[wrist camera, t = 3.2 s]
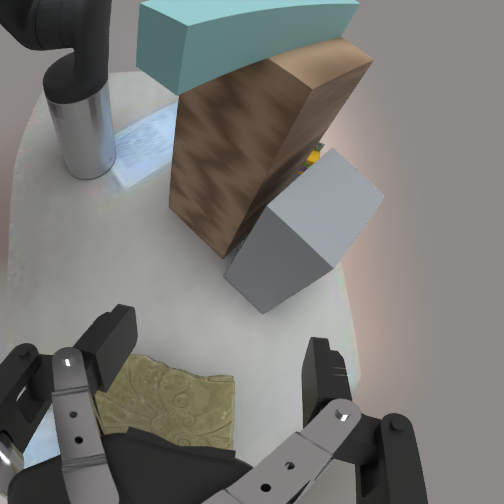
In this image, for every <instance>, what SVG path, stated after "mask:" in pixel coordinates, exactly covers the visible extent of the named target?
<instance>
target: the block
mask: <svg viewBox="0 0 504 504" xmlns="http://www.w3.org/2000/svg"><path fill="white" fill-rule="evenodd" d="M359 5H360V3H358V2H357V1H355V0H150V1H146V2H143V3H140V8H139V20H138V35H137V55H136V56H137V57H136V66H137V67H138V68H139V69H141V70H142V71H144V72H145V73H147V74H148V75H149V76H151V77H152V78H153V79H155V80H156V81H158V82H159V83H160V84H162V85H163V86H164V87H166V88H167V89H169V90H170V91H171V92H173V93H174V94H175V95H177V96H178V95H180V94H182V93H184V92H186V91H188V90H190V89H192V88H195V87H197V86H199V85H201V84H203V83H206V82H208V81H210V80H212V79H215V78H217V77H219V76H222V75H224V74H227V73H229V72H232V71H234V70H237V69H239V68H242V67H244V66H247V65H250V64H252V63H255V62H258V61H261V60H263V59H266V58H269V57H272V56H275V55H278V54H281V53H284V52H287V51H291V50H294V49H297V48H301V47H304V46H308V45H311V44H315V43H319V42H322V41H326V40H330V39H334V38H339V37H341V36H342V34H343V33H344V31H345V29H346V27H347V26H348V24H349V22H350V20H351V19H352V17H353V15H354V13H355V12H356V10H357V8H358V7H359Z"/></svg>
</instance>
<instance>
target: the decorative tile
mask: <svg viewBox="0 0 504 504" xmlns="http://www.w3.org/2000/svg"><path fill="white" fill-rule="evenodd" d="M234 394H235V383H234V378H233V376H225V375H217V376H209V377H203V376H198V375H193V374H192V373H188V372H186V371H184V370H181V369H176V368H170V367H168V366H167V365H166V364H164V363H163V362H157V361H156V360H153V359H152V358H149V357H148V356H145V355H141V356H136V355H129V357H128V358H127V360H126V361H125V363H124V365H123V366H122V368H121V370H120V371H119V373H118V375H117V376H116V378H115V380H114V381H113V383H112V385H111V386H110V388H109V390H108V391H107V393H104V392H101V391H97V392H96V394H95V397H96V401H97V404H98V408H99V412H100V416H101V419H102V423H103V426H104V429H105V432H106V434H111V433H126V432H127V430H128V428H129V426H130V427H134V428H137V429H140V430H143V431H147V432H150V433H154V434H156V435H158V436H160V437H162V438H164V439H165V440H167V441H169V442H172V443H174V444H176V445H178V446H210V447H216V448H222V449H228V450H233V429H234Z"/></svg>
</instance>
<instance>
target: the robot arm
mask: <svg viewBox="0 0 504 504" xmlns="http://www.w3.org/2000/svg"><path fill="white" fill-rule="evenodd" d="M111 2H112V0H0V24H1V25H2V26H3V27H4V28H5V29H6V30H7V31H8V32H9V33H10V34H11V35H12V36H13V37H14V38H15V39H16V40H17V41H18V42H19V43H20V44H21V45H23V46H24V47H26V48H28V49H31V50H37V51H39V50H40V51H43V50H53V49H62V48H73V49H74V52H72V53H70V54H68V55H66V56H64V57H62V58H60V59H59V60H57V61H56V62H55V63H54V64H52V65H51V66H50V67H49V68H48V70H47V71H46V73H45V75H44V78H43V87H44V92H45V96H46V99H47V103H48V107H49V111H50V114H51V117H52V121H53V124H54V127H55V131H56V134H57V137H58V140H59V143H60V146H61V149H62V152H63V156H64V159H65V161H66V164H67V167H68V169H69V172H70V173H71V174H72V175H73V176H74V177H76V178H79V179H93V178H96V177H99V176H101V175H103V174H104V173H106V172H107V171H108V170H109V169H110V168H111V167H112V165H113V163H114V162H115V158H116V150H115V142H114V134H113V125H112V116H111V106H110V94H109V82H108V57H109V26H110V15H111ZM137 337H138V333H137V324H136V315H135V309H134V307H131V306H126V305H122V304H118V305H117V306H116V307H115V308H114V309H113V310H112V311H111V313H110V312H106V313H104V314H102V315H101V316H99V317H98V318H97V319H96V320H95V321H94V322H93V325H91V326H90V327H89V328H88V330H87V331H86V332H85V333H84V334H83V335H82V336H81V338H80V339H79V340H78V341H77V342H76V344H75V345H74V346H73V347H66V348H62V349H60V350H58V351H57V352H56V353H55V354H54V355H43V354H39V353H38V350H37V348H36V347H35V346H34V345H32V344H29V343H24V344H20V345H18V346H16V347H15V348H14V349H13V350H12V351H11V352H10V354H9V355H8V356H7V357H6V358H5V360H4V361H3V362H2V363H1V364H0V495H2V496H3V497H5V498H6V499H7V500H8V504H295V503H296V502H297V501H298V500H299V499H300V498H301V497H302V496H303V494H304V493H305V492H306V491H307V490H308V489H309V487H310V486H311V485H312V484H313V483H314V482H315V481H316V480H317V479H318V478H319V476H320V475H321V474H322V473H323V472H324V471H325V470H326V469H327V467H328V466H329V465H330V464H331V463H332V462H333V460H334V459H338V460H341V461H345V462H348V463H352V464H355V474H356V503H357V504H428V500H427V494H426V488H425V482H424V477H423V471H422V466H421V461H420V457H419V452H418V447H417V443H416V439H415V434H414V430H413V427H412V424H411V422H410V421H409V420H408V418H406V417H405V416H403V415H401V414H397V413H392V414H388V415H386V416H384V417H383V419H382V420H381V419H377V418H373V417H369V416H366V415H364V414H362V413H361V411H360V409H359V407H358V406H357V405H356V404H355V403H353V402H352V397H351V392H350V387H349V382H348V377H347V372H346V369H345V368H346V367H345V362H344V358H343V357H342V356H341V355H340V353H339V352H338V351H333V350H330V347H329V341H328V339H326V338H317V337H311V338H310V341H309V344H308V348H307V351H306V355H305V358H304V362H303V366H302V403H303V430H302V431H301V432H299V433H298V432H295V433H293V434H292V435H291V436H290V437H289V438H287V439H286V440H285V441H284V442H283V443H282V444H281V445H280V446H279V447H277V448H276V449H275V450H274V451H273V452H272V453H271V454H270V455H268V456H267V457H266V458H265V459H264V460H262V461H261V462H260V463H259V464H258V465H256V466H255V467H254V468H253V467H252V466H251V465H249V464H248V463H246V462H244V461H242V460H240V459H237V458H235V453H236V451H234V450H228V449H222V448H216V447H210V446H178V445H176V444H174V443H172V442H169V441H167V440H165V439H164V438H162V437H160V436H158V435H156V434H154V433H150V432H147V431H143V430H140V429H137V428H134V427H130V426H129V428H128V430H127V432H126V433H111V434H106V432H105V429H104V426H103V423H102V419H101V416H100V412H99V408H98V404H97V401H96V397H95V394H96V392H97V391H101V392H104V393H107V391H108V390H109V388H110V386H111V385H112V383H113V381H114V380H115V378H116V376H117V375H118V373H119V371H120V370H121V368H122V366H123V365H124V363H125V361H126V360H127V358H128V357H129V355H130V353H131V352H132V350H133V348H134V347H135V345H136V342H137ZM24 386H25V388H26V389H25V391H24V392H23V393H22V395H21V396H20V398H19V399H18V401H17V397H18V395H19V393H20V392H21V391H22V389H23V388H24ZM16 401H17V402H16ZM52 403H53V411H54V419H55V425H56V432H57V437H58V443H59V448H60V453H61V454H60V455H58V456H56V457H53V458H51V459H48V460H46V461H44V462H41V463H39V464H36V465H34V466H31V467H28V468H26V469H24V468H23V466H24V458H23V455H22V454H23V453H24V451H25V449H26V447H27V445H28V443H29V442H30V440H31V438H32V436H33V434H34V433H35V431H36V429H37V427H38V426H39V424H40V422H41V421H42V419H43V417H44V415H45V414H46V412H47V410H48V409H49V407H50V405H51V404H52Z"/></svg>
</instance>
